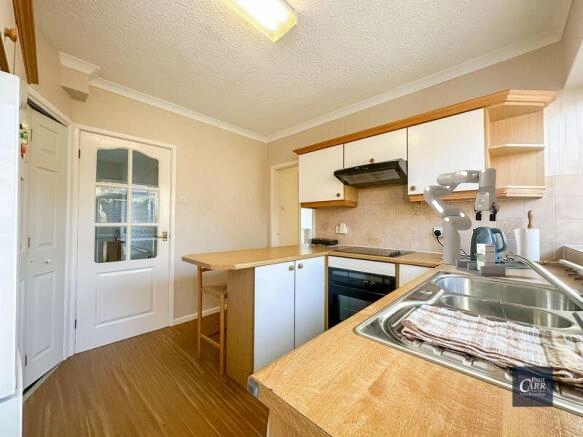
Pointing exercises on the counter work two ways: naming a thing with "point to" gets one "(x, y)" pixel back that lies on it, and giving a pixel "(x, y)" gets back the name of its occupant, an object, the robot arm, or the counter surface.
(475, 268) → the slot rack
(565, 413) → the counter surface
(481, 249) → the syrup box
